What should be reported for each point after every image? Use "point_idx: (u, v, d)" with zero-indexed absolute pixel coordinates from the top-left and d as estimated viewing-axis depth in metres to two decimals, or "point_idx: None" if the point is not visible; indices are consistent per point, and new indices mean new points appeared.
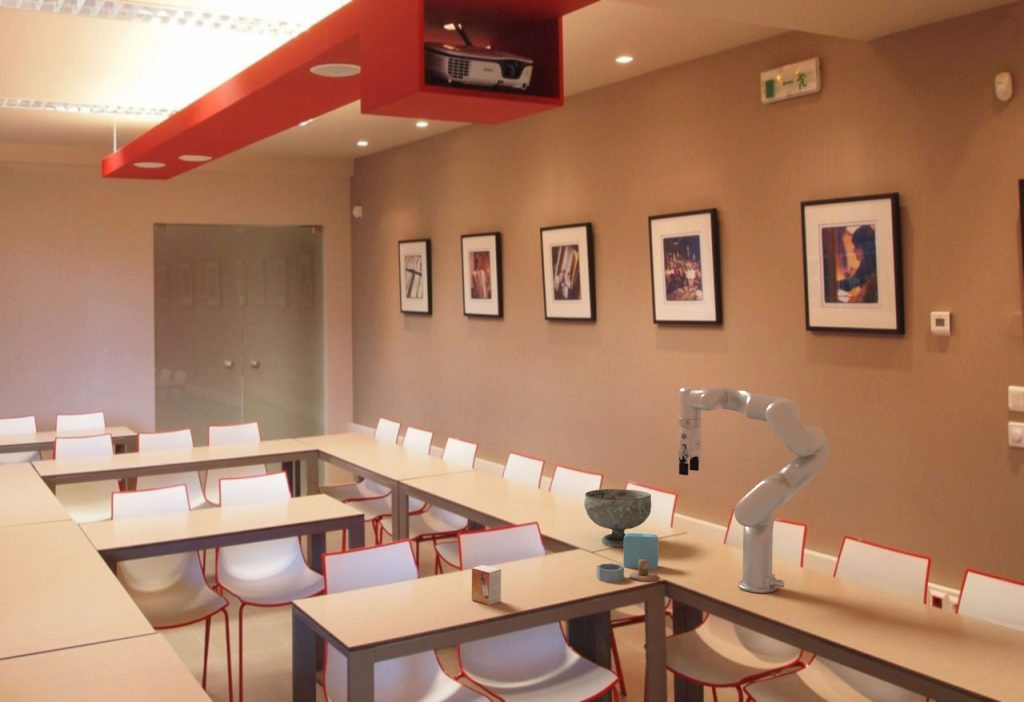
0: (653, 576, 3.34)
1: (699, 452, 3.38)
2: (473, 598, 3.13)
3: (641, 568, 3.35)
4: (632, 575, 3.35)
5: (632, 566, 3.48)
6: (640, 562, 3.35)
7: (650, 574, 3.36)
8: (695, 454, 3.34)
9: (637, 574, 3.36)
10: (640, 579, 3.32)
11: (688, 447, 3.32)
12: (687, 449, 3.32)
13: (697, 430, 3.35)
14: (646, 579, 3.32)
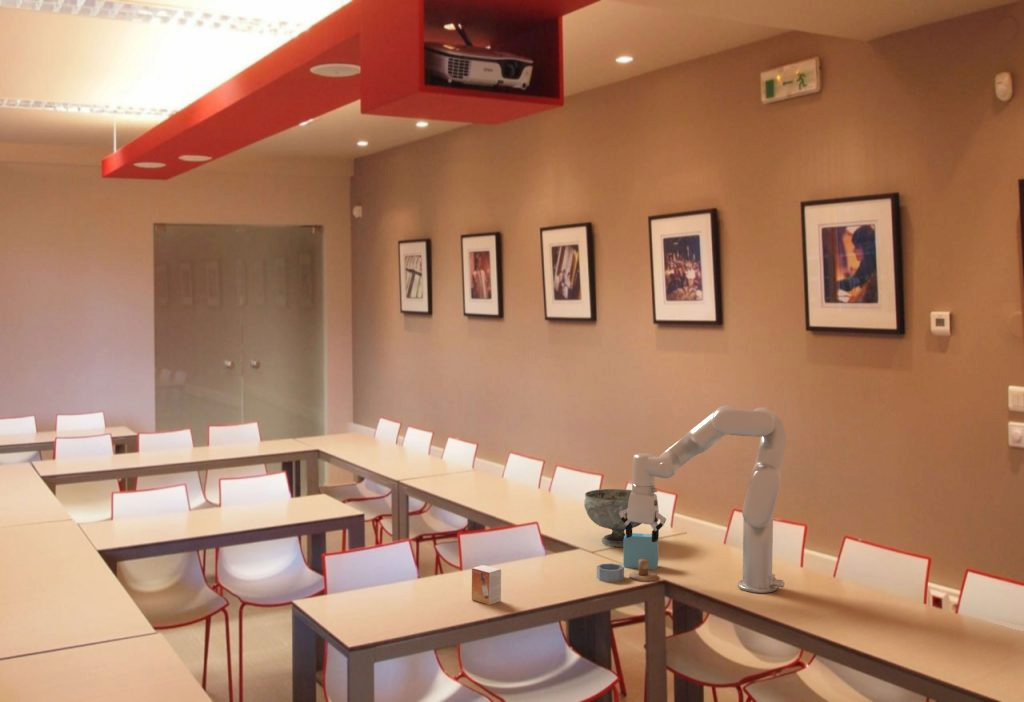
0: (653, 576, 3.34)
1: None
2: (473, 598, 3.13)
3: (641, 568, 3.35)
4: (632, 575, 3.35)
5: (632, 566, 3.48)
6: (640, 562, 3.35)
7: (650, 574, 3.36)
8: None
9: (637, 574, 3.36)
10: (640, 579, 3.32)
11: (658, 513, 3.34)
12: None
13: None
14: (646, 579, 3.32)
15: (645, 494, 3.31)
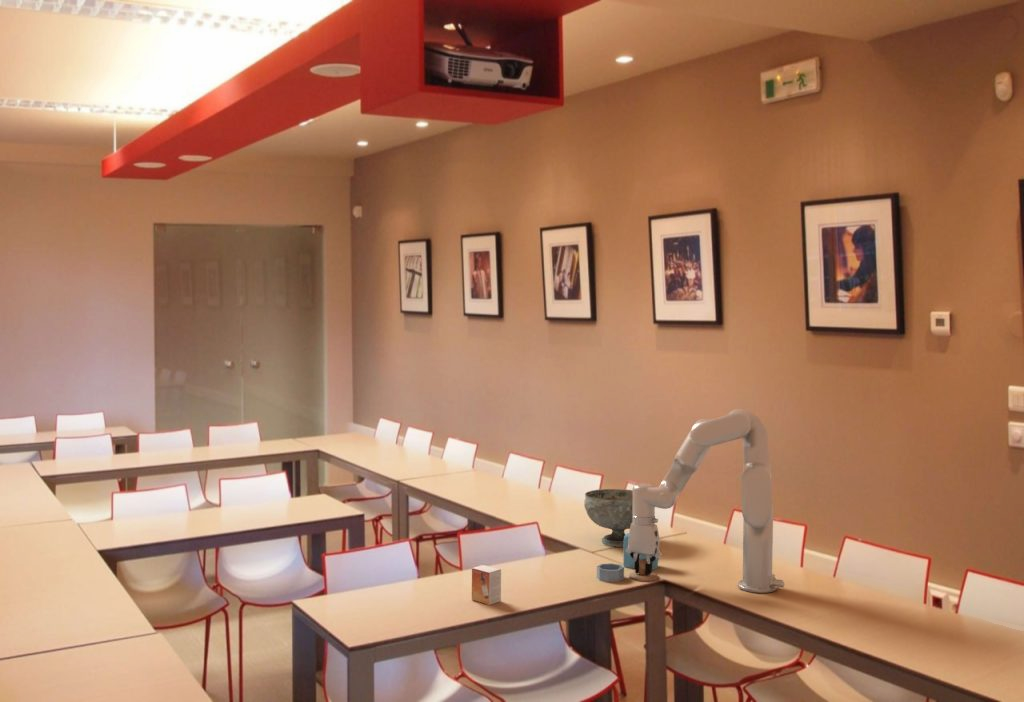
0: (653, 576, 3.34)
1: None
2: (473, 598, 3.13)
3: (642, 568, 3.35)
4: (632, 575, 3.35)
5: (632, 566, 3.48)
6: (640, 562, 3.35)
7: (650, 574, 3.36)
8: None
9: (637, 574, 3.36)
10: (640, 579, 3.32)
11: (658, 543, 3.34)
12: (658, 545, 3.34)
13: None
14: (646, 579, 3.32)
15: (645, 525, 3.31)
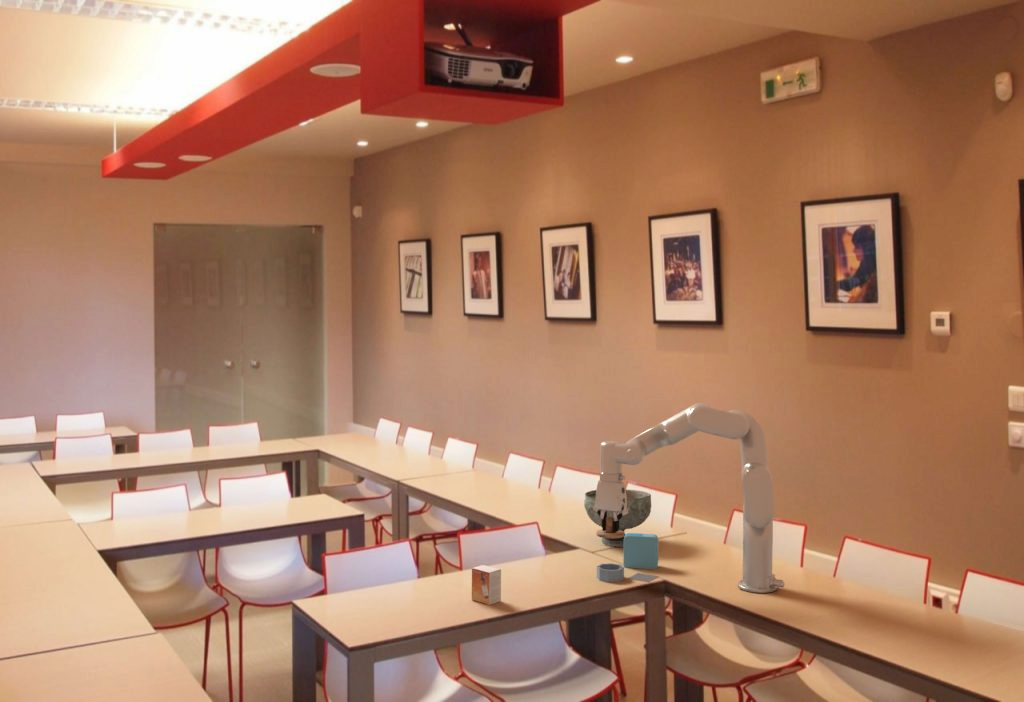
0: (620, 533, 3.32)
1: None
2: (473, 598, 3.13)
3: (609, 526, 3.33)
4: (599, 532, 3.34)
5: (632, 566, 3.48)
6: (607, 519, 3.33)
7: (617, 532, 3.34)
8: None
9: (604, 531, 3.35)
10: (607, 536, 3.30)
11: (626, 500, 3.33)
12: (625, 502, 3.32)
13: None
14: (613, 536, 3.30)
15: (612, 482, 3.30)
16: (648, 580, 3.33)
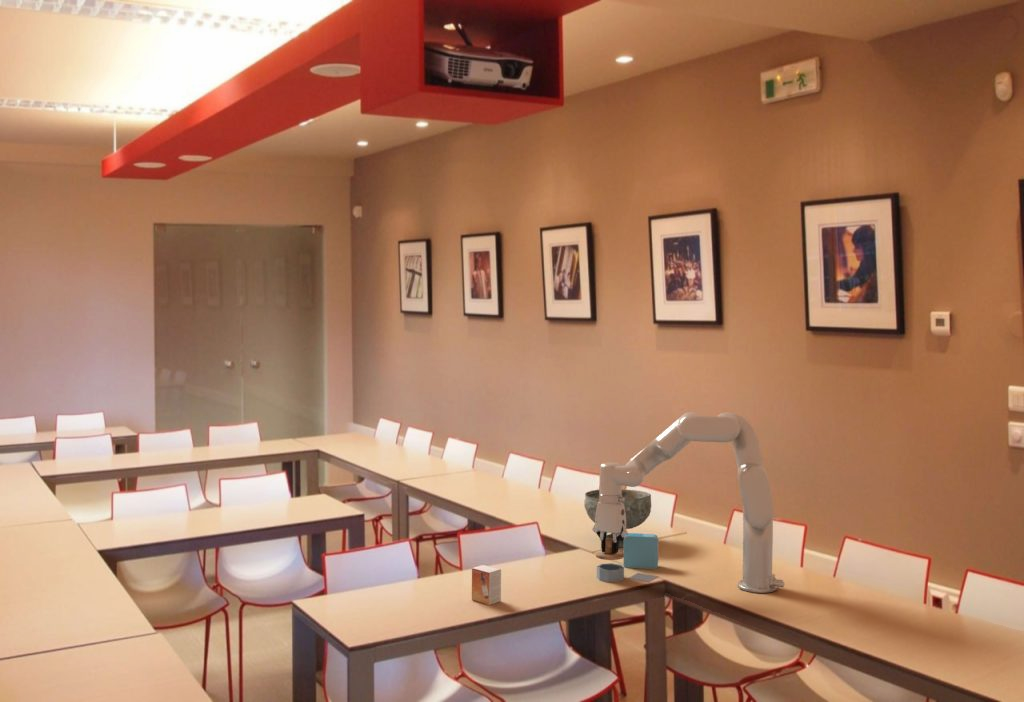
0: (619, 555, 3.33)
1: None
2: (473, 598, 3.13)
3: (608, 547, 3.33)
4: (598, 554, 3.34)
5: (632, 566, 3.48)
6: (606, 541, 3.34)
7: (617, 553, 3.35)
8: None
9: (604, 553, 3.35)
10: (606, 557, 3.31)
11: (625, 522, 3.33)
12: (625, 524, 3.33)
13: None
14: (612, 558, 3.30)
15: (612, 503, 3.30)
16: (648, 580, 3.33)
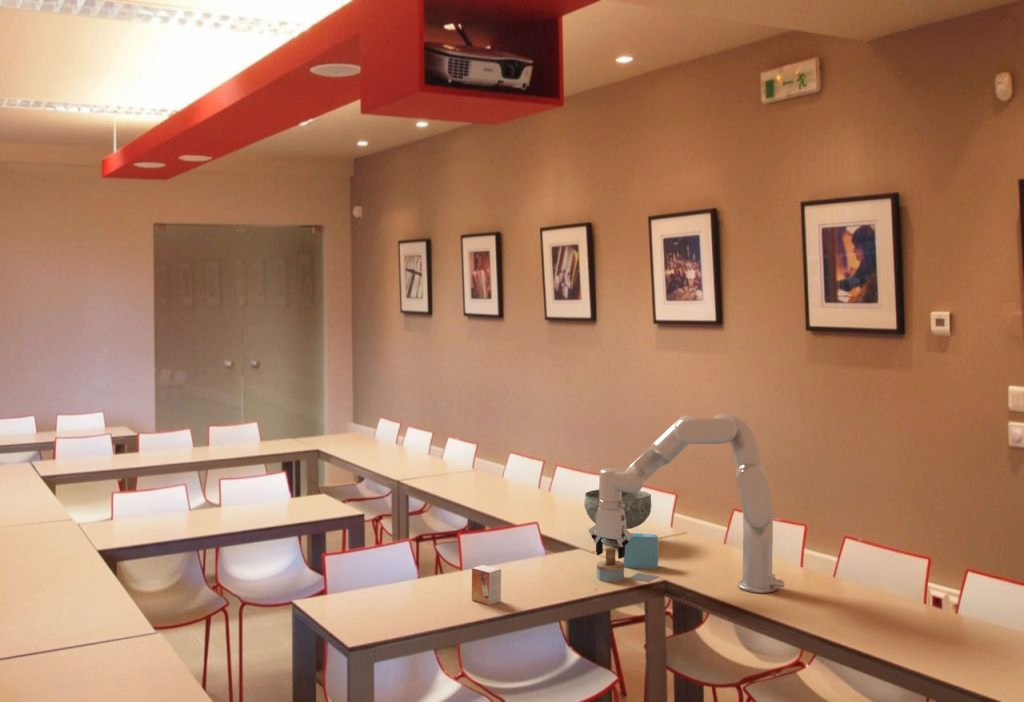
0: (620, 565, 3.33)
1: None
2: (473, 598, 3.13)
3: (609, 558, 3.34)
4: (599, 564, 3.34)
5: (632, 566, 3.48)
6: (607, 551, 3.34)
7: (617, 564, 3.35)
8: None
9: (604, 563, 3.35)
10: (607, 568, 3.31)
11: (625, 527, 3.33)
12: None
13: None
14: (613, 568, 3.31)
15: (612, 509, 3.30)
16: (648, 580, 3.33)
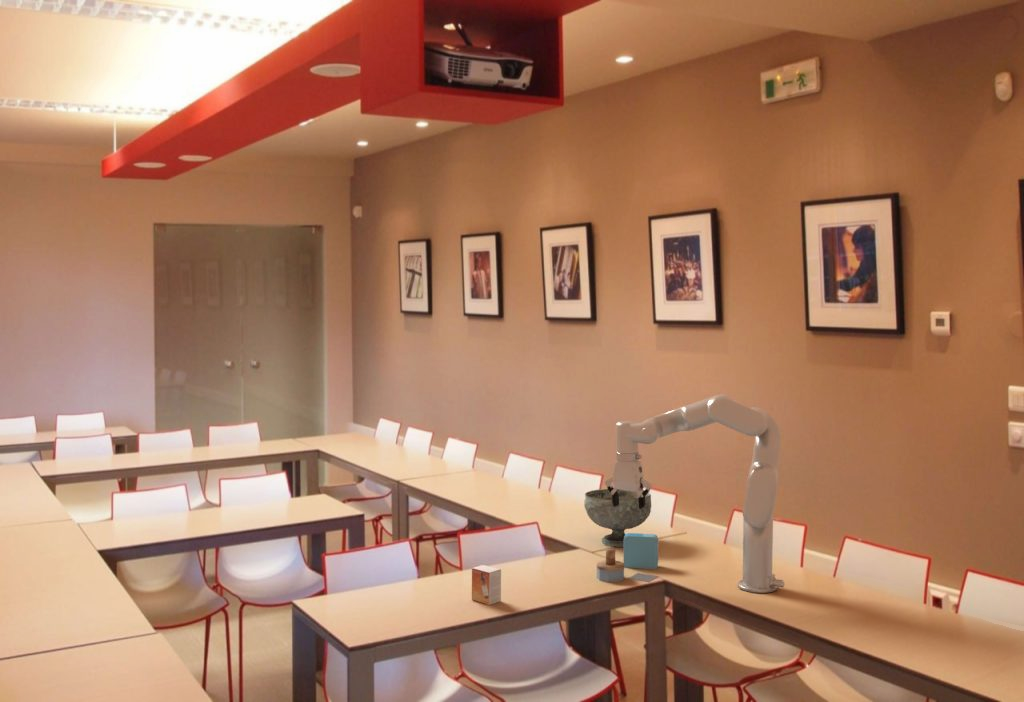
0: (620, 565, 3.33)
1: None
2: (473, 598, 3.13)
3: (609, 558, 3.34)
4: (599, 564, 3.34)
5: (632, 566, 3.48)
6: (607, 551, 3.34)
7: (617, 564, 3.35)
8: None
9: (604, 563, 3.35)
10: (607, 568, 3.31)
11: None
12: None
13: None
14: (613, 568, 3.31)
15: (629, 461, 3.31)
16: (648, 580, 3.33)
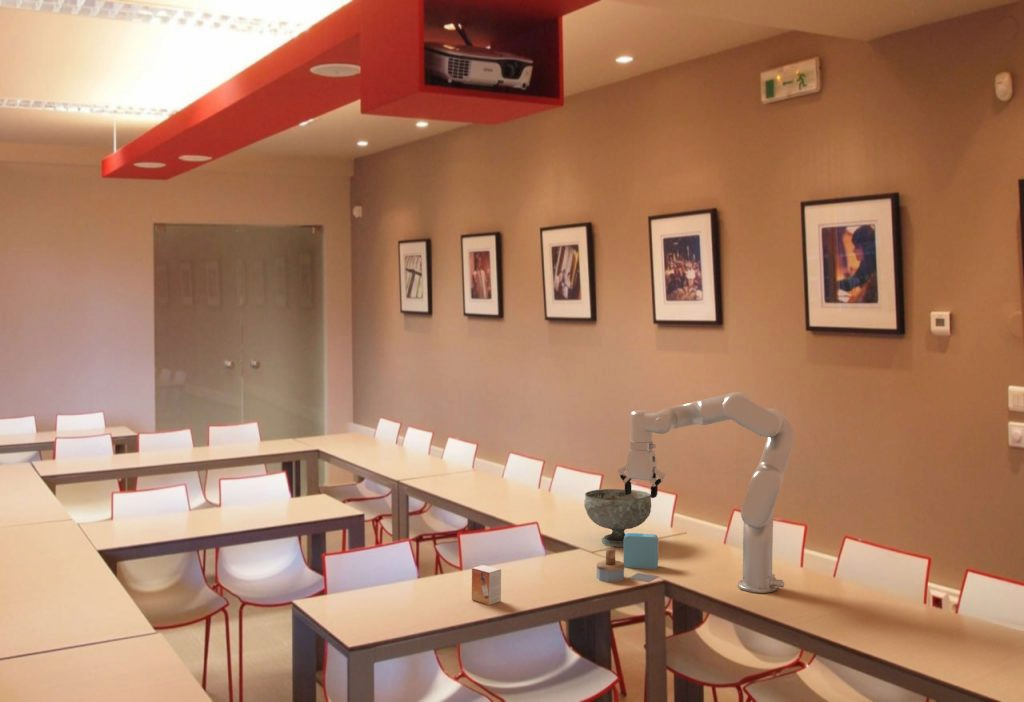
0: (620, 565, 3.33)
1: None
2: (473, 598, 3.13)
3: (609, 558, 3.34)
4: (599, 564, 3.34)
5: (632, 566, 3.48)
6: (607, 551, 3.34)
7: (617, 564, 3.35)
8: None
9: (604, 563, 3.35)
10: (607, 568, 3.31)
11: (656, 469, 3.35)
12: None
13: None
14: (613, 568, 3.31)
15: (643, 450, 3.33)
16: (648, 580, 3.33)
